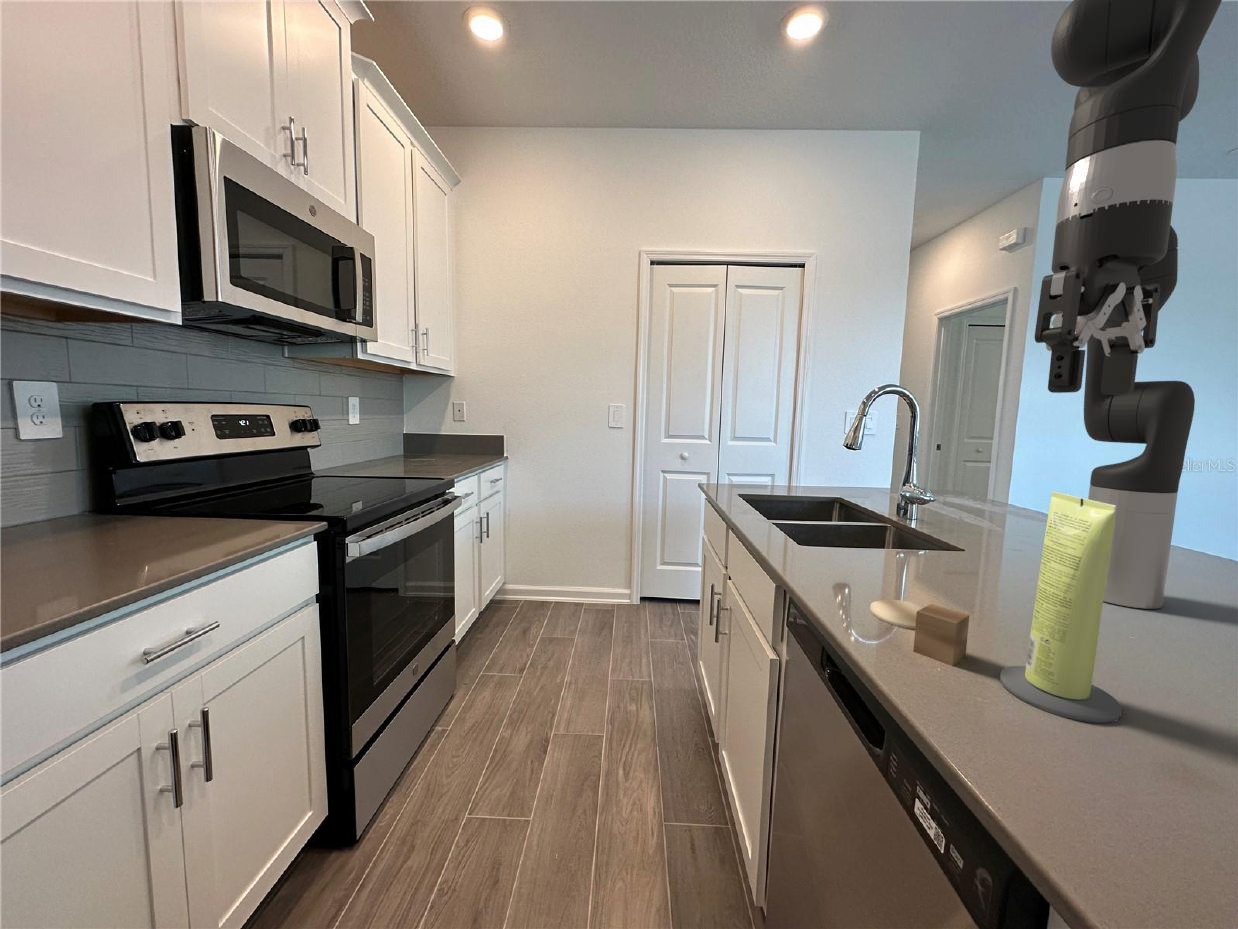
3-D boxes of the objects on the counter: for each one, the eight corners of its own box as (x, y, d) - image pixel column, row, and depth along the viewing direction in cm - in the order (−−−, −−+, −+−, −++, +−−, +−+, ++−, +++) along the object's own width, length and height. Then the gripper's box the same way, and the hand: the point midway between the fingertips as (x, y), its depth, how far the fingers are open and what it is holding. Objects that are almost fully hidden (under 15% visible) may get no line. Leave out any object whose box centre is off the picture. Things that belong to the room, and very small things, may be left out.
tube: (1105, 694, 48) (1130, 499, 46) (1090, 711, 45) (1116, 504, 43) (1032, 669, 53) (1052, 490, 51) (1015, 683, 50) (1035, 494, 48)
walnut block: (927, 642, 60) (931, 603, 59) (965, 656, 57) (969, 615, 56) (913, 652, 57) (916, 611, 57) (952, 666, 54) (955, 623, 54)
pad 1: (901, 600, 73) (901, 596, 73) (961, 624, 65) (961, 620, 65) (855, 608, 70) (856, 604, 70) (913, 635, 62) (913, 630, 62)
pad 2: (1033, 665, 55) (1033, 660, 55) (1141, 711, 46) (1142, 705, 46) (979, 679, 51) (980, 674, 51) (1086, 732, 43) (1087, 725, 43)
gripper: (1103, 238, 50) (1085, 396, 52) (1015, 216, 45) (998, 393, 47) (1211, 210, 43) (1186, 394, 45) (1121, 181, 38) (1097, 390, 40)
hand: (1090, 393), depth 46 cm, fingers open, 8 cm apart
